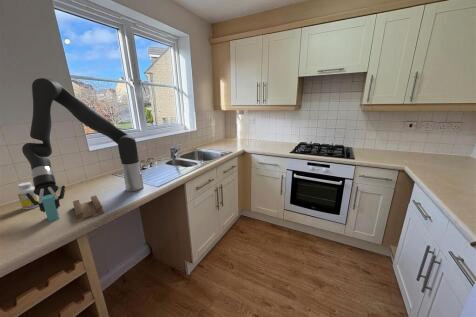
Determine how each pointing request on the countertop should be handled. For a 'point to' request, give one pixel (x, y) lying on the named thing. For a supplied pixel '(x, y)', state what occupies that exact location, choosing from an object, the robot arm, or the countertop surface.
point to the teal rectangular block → (50, 207)
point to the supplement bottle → (23, 198)
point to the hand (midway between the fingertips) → (50, 209)
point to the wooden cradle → (88, 208)
